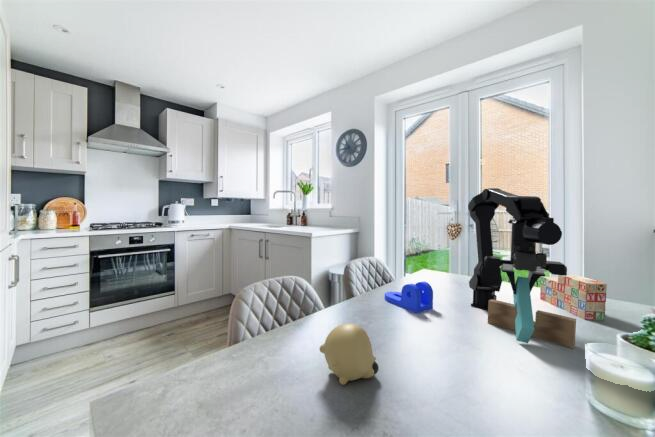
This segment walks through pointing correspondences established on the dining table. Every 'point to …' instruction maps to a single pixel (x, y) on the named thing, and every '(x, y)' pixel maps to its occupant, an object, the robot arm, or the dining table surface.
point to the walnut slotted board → (535, 323)
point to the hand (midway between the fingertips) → (520, 294)
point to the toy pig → (349, 353)
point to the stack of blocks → (575, 295)
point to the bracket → (413, 297)
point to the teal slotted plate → (523, 310)
